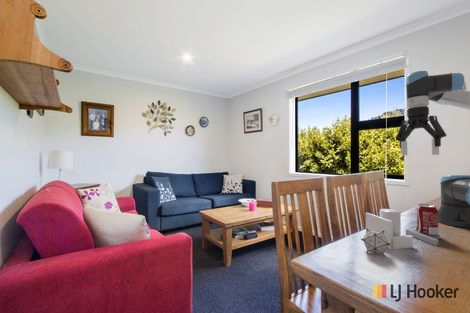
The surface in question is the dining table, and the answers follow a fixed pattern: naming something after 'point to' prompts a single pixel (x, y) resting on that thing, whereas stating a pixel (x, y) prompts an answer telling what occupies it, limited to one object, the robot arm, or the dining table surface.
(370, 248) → the game die
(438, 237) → the coaster
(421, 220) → the soda can
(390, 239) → the dispenser rack
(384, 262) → the dining table surface
